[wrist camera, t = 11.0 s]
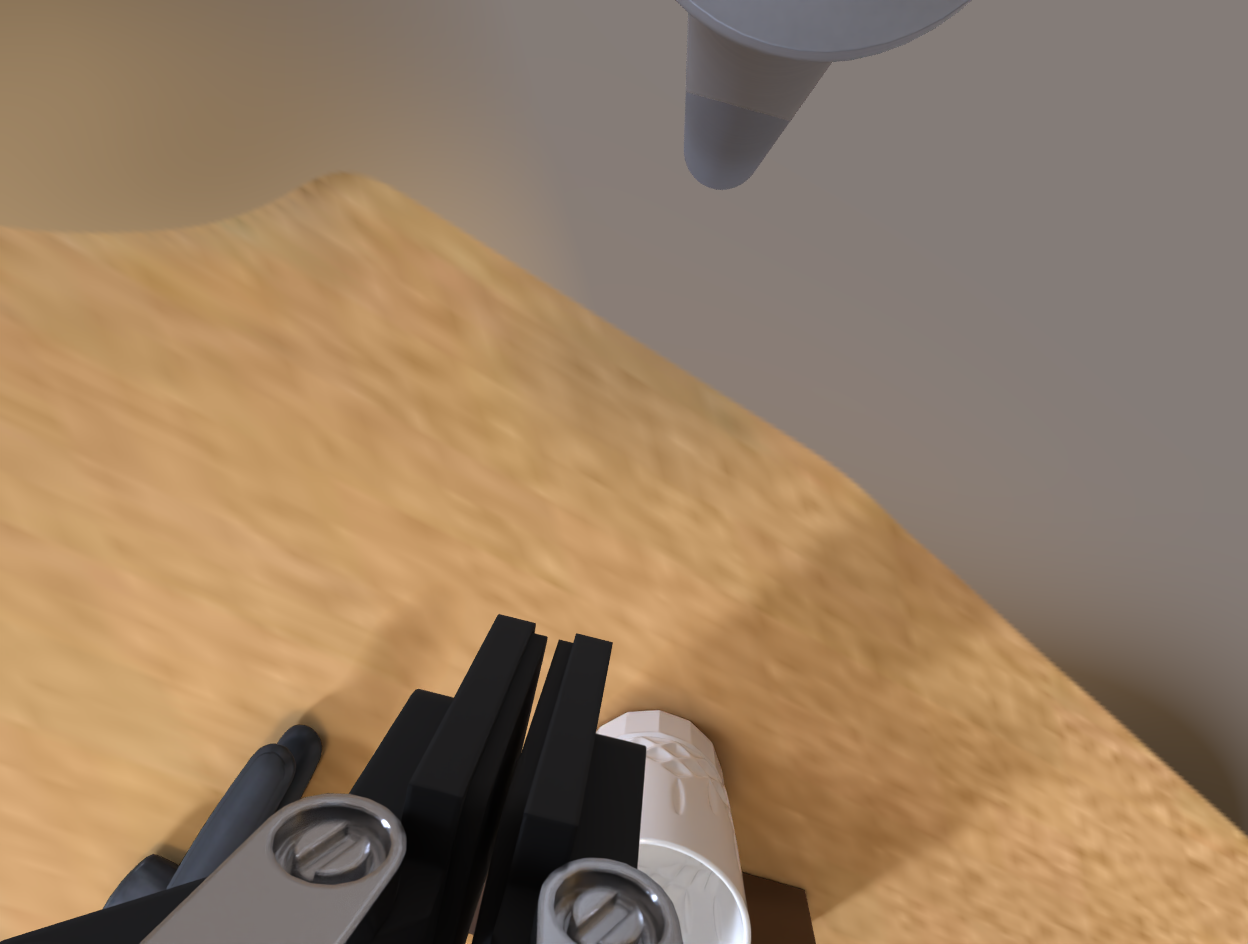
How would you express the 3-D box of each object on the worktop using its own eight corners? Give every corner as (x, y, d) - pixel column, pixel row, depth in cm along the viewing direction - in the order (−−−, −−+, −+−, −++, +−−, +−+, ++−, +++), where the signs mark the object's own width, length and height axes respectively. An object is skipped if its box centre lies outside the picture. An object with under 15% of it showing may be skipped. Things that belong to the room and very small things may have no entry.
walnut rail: (490, 800, 40) (464, 872, 35) (805, 889, 40) (822, 973, 35) (476, 851, 41) (449, 928, 36) (786, 938, 41) (800, 1027, 36)
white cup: (758, 730, 38) (785, 884, 29) (698, 865, 40) (704, 1052, 31) (599, 673, 38) (572, 808, 29) (547, 811, 40) (504, 981, 30)
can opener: (210, 992, 44) (144, 1093, 39) (98, 923, 43) (14, 1015, 38) (381, 759, 40) (334, 835, 35) (260, 679, 40) (192, 744, 34)
